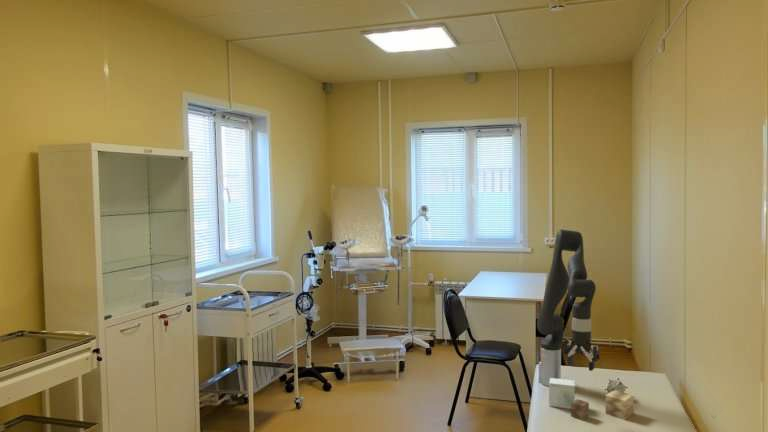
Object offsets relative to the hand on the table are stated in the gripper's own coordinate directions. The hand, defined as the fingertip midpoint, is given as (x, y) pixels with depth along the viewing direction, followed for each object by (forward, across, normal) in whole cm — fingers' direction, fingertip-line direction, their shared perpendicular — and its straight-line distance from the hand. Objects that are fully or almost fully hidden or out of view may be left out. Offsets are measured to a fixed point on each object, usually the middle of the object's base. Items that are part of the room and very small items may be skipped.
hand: (581, 367), depth 225 cm
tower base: (+21, +10, +14) cm, 27 cm away
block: (+20, 0, 0) cm, 20 cm away
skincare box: (+20, -11, +5) cm, 24 cm away
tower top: (+17, +10, +14) cm, 24 cm away
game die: (+20, +1, +30) cm, 36 cm away
